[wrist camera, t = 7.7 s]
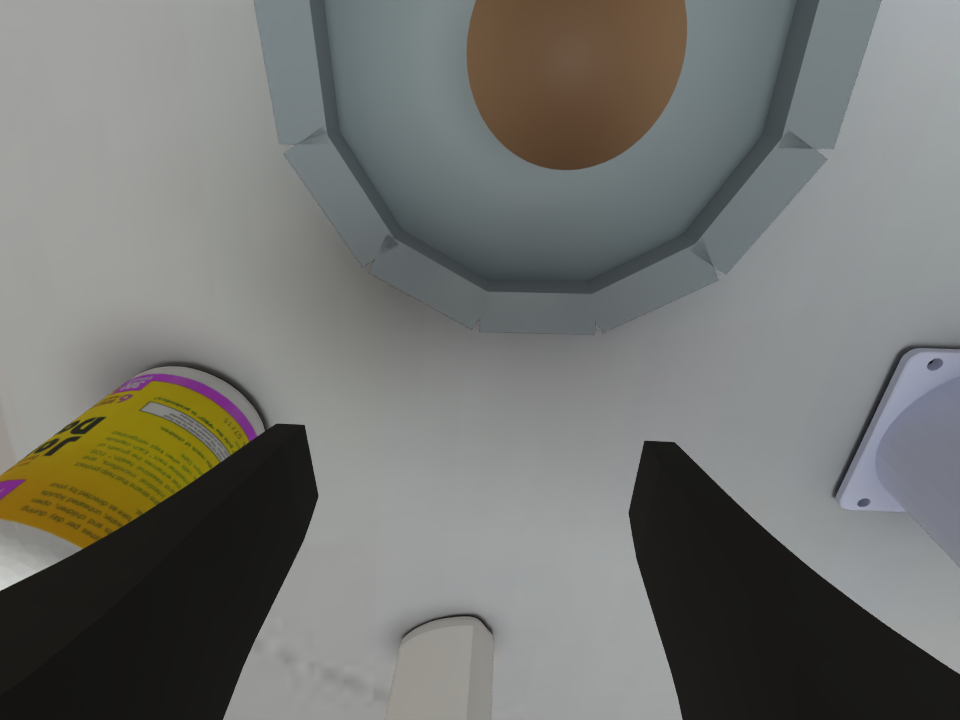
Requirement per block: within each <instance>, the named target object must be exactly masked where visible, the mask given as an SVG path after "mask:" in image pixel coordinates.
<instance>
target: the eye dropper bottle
mask: <svg viewBox="0 0 960 720" xmlns="http://www.w3.org/2000/svg"><path fill="white" fill-rule="evenodd" d="M493 657H494V639H493V636H492V634H491V633H490V632H489V630H488V629H487V628H486V627H485V626H484V625H483V623H482V622H481V621H480V620H478V619H477V618H474V617H466V616H463V617H450V618H443V619H438V620H435V621H431V622H428V623H426V624H424V625H421V626H419V627H417V628H416V629H414V630H412V631H411V632H410V633H408V634H407V635H406V636H405V637H404V638H403V640H402V642H401V644H400V648H399V652H398V657H397V662H396V667H395V672H394V676H393V681H392V686H391V691H390V696H389V701H388V706H387V711H386V716H385V720H491V715H492V686H493Z"/></svg>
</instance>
